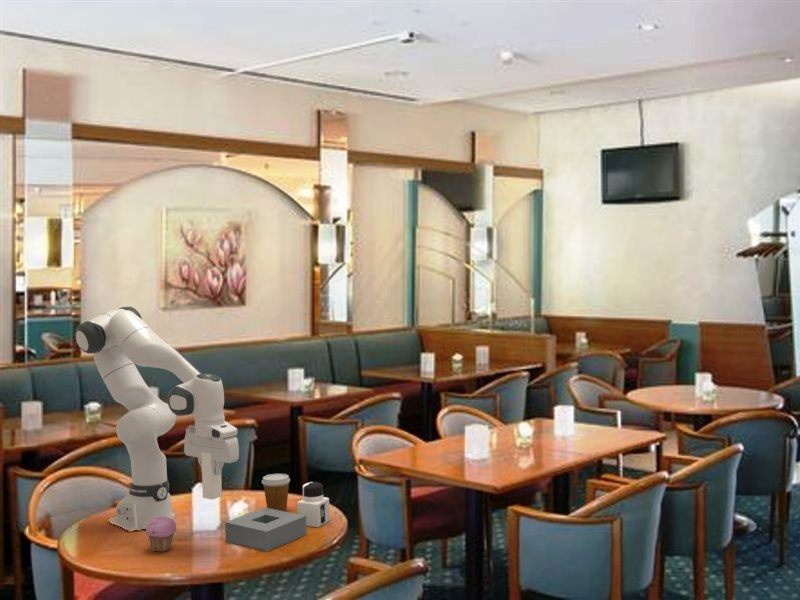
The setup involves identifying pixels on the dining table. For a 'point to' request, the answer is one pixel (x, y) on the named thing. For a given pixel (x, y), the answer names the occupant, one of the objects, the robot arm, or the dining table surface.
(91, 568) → the dining table surface
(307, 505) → the container
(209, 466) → the peg
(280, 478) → the disposable coffee cup
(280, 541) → the well block
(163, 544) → the cupcake
